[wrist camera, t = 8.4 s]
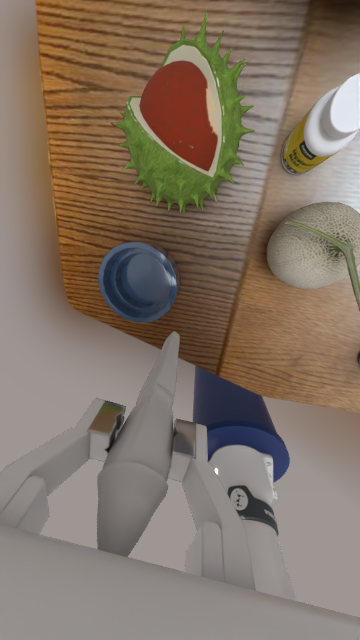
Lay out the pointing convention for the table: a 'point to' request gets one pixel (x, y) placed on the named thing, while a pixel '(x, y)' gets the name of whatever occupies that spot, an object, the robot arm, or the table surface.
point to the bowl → (139, 281)
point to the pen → (139, 459)
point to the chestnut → (186, 123)
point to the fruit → (317, 247)
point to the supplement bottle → (324, 128)
